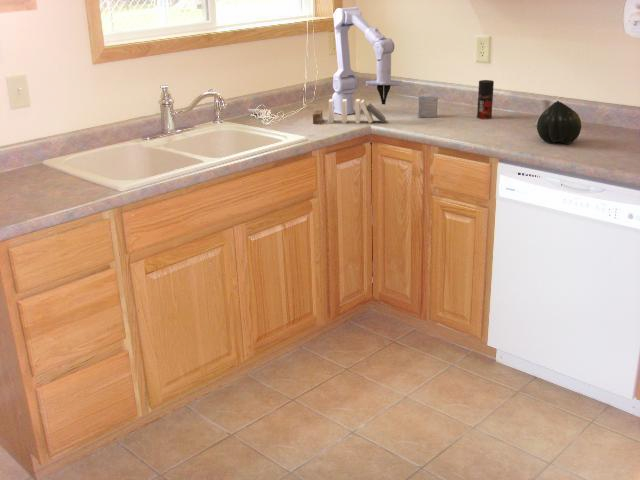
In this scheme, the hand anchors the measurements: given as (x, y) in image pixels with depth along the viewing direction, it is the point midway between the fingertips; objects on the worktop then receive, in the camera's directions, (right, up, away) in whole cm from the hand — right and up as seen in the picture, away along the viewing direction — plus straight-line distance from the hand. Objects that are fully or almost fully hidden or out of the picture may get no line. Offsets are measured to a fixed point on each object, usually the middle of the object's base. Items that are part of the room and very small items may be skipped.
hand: (383, 104), depth 303 cm
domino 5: (0, -6, +3) cm, 7 cm away
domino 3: (-10, -7, +4) cm, 13 cm away
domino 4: (-5, -7, +3) cm, 9 cm away
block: (-27, -6, +6) cm, 28 cm away
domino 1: (-21, -6, +5) cm, 23 cm away
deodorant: (+42, -5, +6) cm, 43 cm away
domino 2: (-16, -7, +5) cm, 18 cm away
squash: (+60, -20, -34) cm, 72 cm away
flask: (+62, -11, -11) cm, 64 cm away
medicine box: (+19, -4, +10) cm, 22 cm away
